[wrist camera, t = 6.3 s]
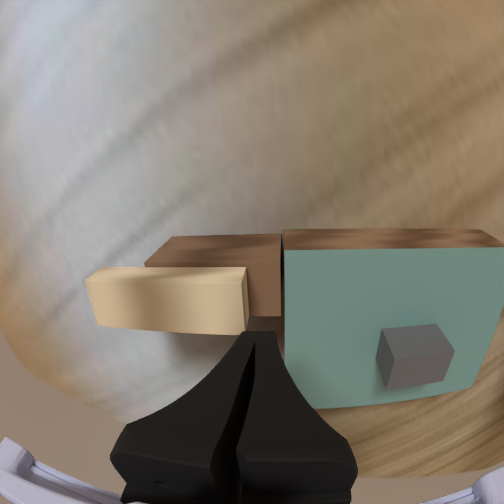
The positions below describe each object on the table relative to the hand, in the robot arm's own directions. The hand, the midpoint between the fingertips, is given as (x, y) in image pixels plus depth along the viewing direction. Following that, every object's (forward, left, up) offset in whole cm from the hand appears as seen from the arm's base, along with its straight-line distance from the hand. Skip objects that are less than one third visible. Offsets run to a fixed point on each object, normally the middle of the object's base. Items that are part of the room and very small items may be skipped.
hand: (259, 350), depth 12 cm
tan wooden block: (+4, +4, -5) cm, 8 cm away
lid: (-9, -4, -6) cm, 12 cm away
